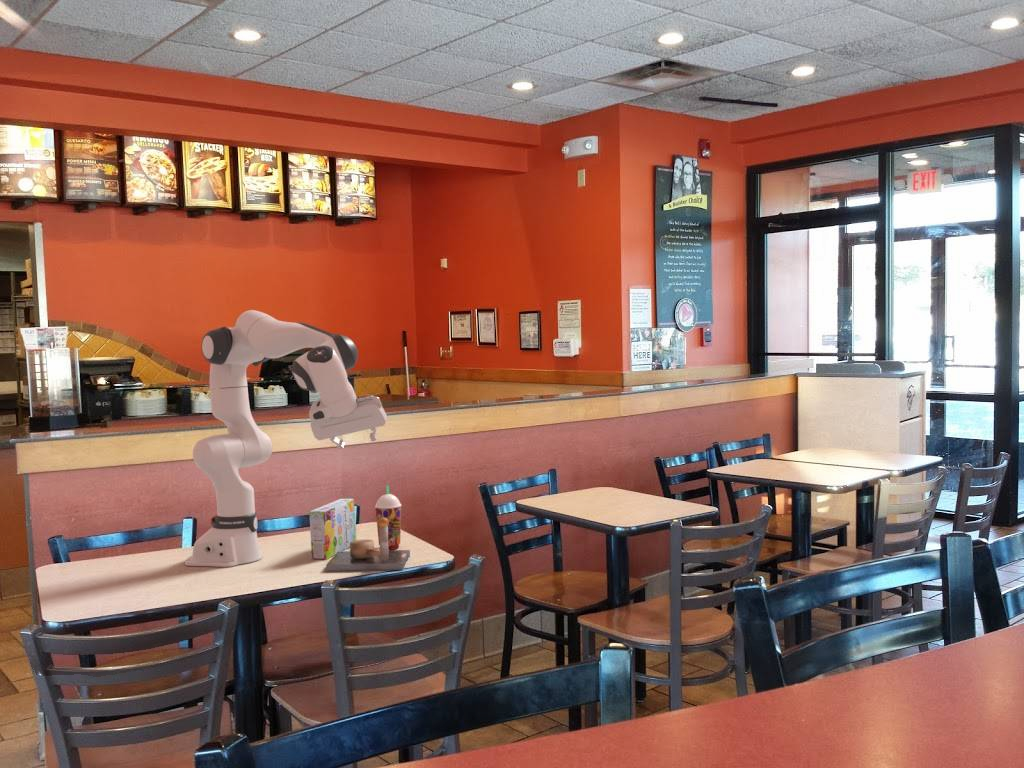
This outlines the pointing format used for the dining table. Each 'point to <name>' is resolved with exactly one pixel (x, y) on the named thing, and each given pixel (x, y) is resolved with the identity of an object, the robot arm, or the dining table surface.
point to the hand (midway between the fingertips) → (358, 443)
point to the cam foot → (372, 544)
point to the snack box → (332, 528)
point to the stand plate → (368, 562)
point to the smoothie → (390, 518)
